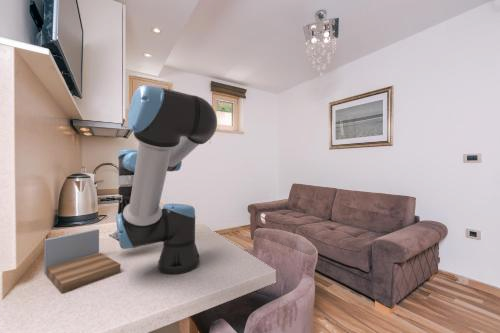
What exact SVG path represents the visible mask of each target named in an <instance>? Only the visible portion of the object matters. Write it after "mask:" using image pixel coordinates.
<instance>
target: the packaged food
mask: <svg viewBox="0 0 500 333" xmlns="http://www.w3.org/2000/svg"><path fill="white" fill-rule="evenodd" d="M108 236H109V238H112V239H114V240H115V241H118V242H119V238H118V231H117V230H116V231H114V232H112V234H108Z"/></svg>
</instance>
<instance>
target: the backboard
mask: <svg viewBox="0 0 500 333" xmlns="http://www.w3.org/2000/svg"><path fill="white" fill-rule="evenodd" d="M43 248H44V250H43V251H44V254H43V255H44V258H43V259H44V261H43V264H44V265H43V274H44V276H47V267H50V266H54V265H57V264H61V263H65V262H68V261H72V260H76V259H79V258H83V257H86V256H90V255H94V254H97V253H100V229H98V228H96V229H95V228H94V229H90V230H85V231H80V232H75V233H70V234H64V235H61V236H55V237H49V238H45V239H44V247H43Z"/></svg>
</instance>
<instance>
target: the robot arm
mask: <svg viewBox="0 0 500 333" xmlns="http://www.w3.org/2000/svg"><path fill="white" fill-rule="evenodd" d="M127 126H128V129H129V130H130V131H131V132H133V137H134V139H135V140H136V141H137V142H138V145H137V146H138V148H137V150H136V149H128V148H126V149H120V150H118V158H117V160H118V176H117V177H118V180H117V183H118V184H117V185H118V186H119V187H118V195H119V196H122V197H119V198H118V207H117V214H116V216H115V220H116V228H117V230H116V231H118V238H119V241H118V243H119V247H120V248H121V249H122V250H128V249H135V248H139V247H144V246H148V245H153V244H157V243H162V242H163V243H162V249H161V252H160V255H159V256H160V257H159V259H158V262H157V269H158V271H159V272H160V273H163V274H165V275H166V274H168V275H177V274H178V275H179V274H184V273H187V272H190V271H193V270H194V269H196V268H197V267H199V265H200V260H201V259H200V258H201V257H200V254H199V251H198V248H197V244H196V219H197V217H196V211H195V208H194V206H192V205H189V204H184V203H164V204H163V206H162V208H161V206H160V202H161V198H162V195H163V190H164V186H165V181H166V177H167V174H168V172H178V171H179V170H181V167H182V163H183V162H182V161H183V160H184V159H185V158H187V156H188V155H190V153H192V152H193V151H194V150H195V149H196V148H197V147H198V146H199V145H204V144H206V143H207V142H209V141H210V139H212V137H213V136H214V134H215V133H216V131H217V127H218V118H217V114H216V111H215V109H214V108H213V106H212V105H211V104H210V103H209V101H208V100H206V99H205V98H203V97H200V96H197V95H194V94H193V95H192V94H189V93H185V92H184V93H183V92H181V91H176V90H174V89H169V88H165V87H162V86H153V85H148V84H143V85H140V86H139V87H138V88H136V90H135V91H134V93H133V94H132V98H131V100H130V104H129V108H128V117H127Z"/></svg>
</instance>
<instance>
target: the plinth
mask: <svg viewBox="0 0 500 333" xmlns="http://www.w3.org/2000/svg"><path fill="white" fill-rule="evenodd" d="M120 273H121V263H120V262H118V261H116V260H114V259H112V258H110V257H109V256H107V255H106V254H103V253H101V252H99V253H97V254H94V255H90V256H86V257H83V258H79V259H76V260H72V261H68V262H65V263H61V264H57V265H54V266H50V267H47V275H46V277H47V278H48V279H49V281H50V282H51V283H52V285H53V286H55V288H56V289H57V290H58V292H60V294H61V295H63V294H66V293H69V292H71V291H74V290H77V289H79V288H82V287H85V286H87V285H90V284H93V283H97V282H98V281H101V280H104V279H107V278H110V277H112V276H115V275H117V274H120Z"/></svg>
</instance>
